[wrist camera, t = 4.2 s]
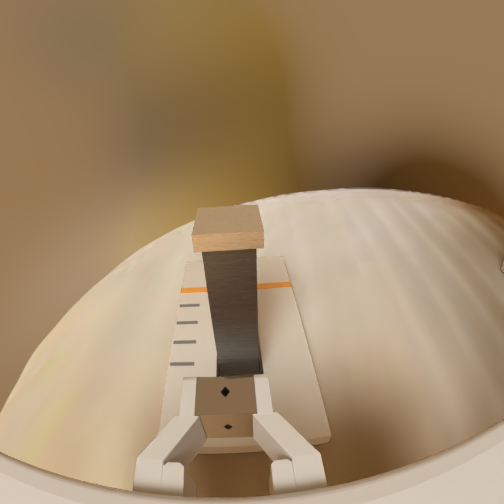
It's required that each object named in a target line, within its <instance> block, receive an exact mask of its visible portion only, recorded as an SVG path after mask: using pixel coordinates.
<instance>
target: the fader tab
mask: <svg viewBox="0 0 504 504" xmlns="http://www.w3.org/2000/svg"><path fill="white" fill-rule="evenodd" d="M192 242H193V249H194V252H202V256H203V264H204V271H205V279H206V286H207V293H208V300H209V306H210V313H211V320H212V326H213V332H214V339H215V345H216V351H217V357H218V362H219V368H220V374H221V377H225V376H238V375H252V374H253V375H257V374H259V347H258V300H257V256H256V249H260V248H264V230H263V225H262V221H261V217H260V213H259V208H258V205H241V206H224V207H209V208H198V211H197V215H196V219H195V223H194V227H193V232H192Z"/></svg>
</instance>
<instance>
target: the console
mask: <svg viewBox="0 0 504 504" xmlns="http://www.w3.org/2000/svg"><path fill="white" fill-rule="evenodd" d="M257 300H258V339H259V347H260V356H261V364H262V373H263V374H268V376H269V381H270V389H271V396H272V403H273V410H274V412H279V414H280V415H281V416H282V417H283V418H284V419H285V420H286V421H287V422H288V423H289V424H290V425H291V426H292V427H293V428H294V429H295V430H296V431H297V432H299V433H300V434H301V435H302V436H303V437H304V438H305V439H306V440H307V441H308V442H309V443H310V444H311V445H318V444H324V443H328V442H329V440H330V438H331V436H332V435H331V431H330V427H329V423H328V419H327V415H326V411H325V408H324V404H323V400H322V396H321V392H320V388H319V384H318V381H317V377H316V373H315V369H314V366H313V362H312V358H311V354H310V351H309V347H308V343H307V340H306V336H305V333H304V329H303V325H302V322H301V318H300V315H299V311H298V308H297V304H296V301H295V297H294V294H293V290H292V286H291V282H290V280H289V276H288V273H287V270H286V266H285V263H284V259H283V256H279V257H262V258H257ZM183 377H218V357H217V351H216V345H215V339H214V332H213V326H212V320H211V313H210V306H209V300H208V293H207V286H206V279H205V271H204V264H203V261H194V262H187V264H186V269H185V274H184V279H183V284H182V288H181V294H180V299H179V305H178V310H177V316H176V321H175V327H174V333H173V338H172V344H171V351H170V357H169V363H168V370H167V376H166V383H165V390H164V397H163V405H162V413H161V421H160V429H159V433H160V432H161V431H162V429H163V428H164V427H165V426H166V425H167V424H168V423H169V421H170V420H171V419H172V418H173V417H174V416H175V415H179V407H180V396H181V386H182V380H183ZM262 451H264V450H263V449H262V448H261V446H260V445H259V444H258V443H257V441H256V440H255V439H254V437H228V438H207V441H206V442H205V444H204V445H203V447H202V448H201V450H200V451H199V453H198V454H222V453H247V452H262Z"/></svg>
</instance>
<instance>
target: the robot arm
mask: <svg viewBox="0 0 504 504" xmlns="http://www.w3.org/2000/svg"><path fill="white" fill-rule="evenodd" d="M501 270H502V272H504V259H503V263H502V266H501ZM228 437H254V439H255V440H256V441H257V443H258V444H259V445H260V446H261V448H262V449H263V450H264V451H265V453H266V454H267V455H268V456H269V457H270V459H271V460H272V461H273V463H272V464H271V469H270V477H269V491H270V495H267V496H253V497H230V498H205V497H197V485H196V483H195V482H194V481H193V479H192V478H191V476H190V475H189V473H188V472H187V469H188V467H189V466H190V464H191V463H192V461H193V460H194V458H195V457H196V456H197V454H198V453H199V451H200V450H201V448H202V447H203V445H204V444H205V442H206V441H207V438H228ZM0 504H504V419H503V420H501V421H500V422H498V423H496V424H495V425H493V426H491V427H489V428H488V429H486V430H484V431H482V432H480V433H478V434H477V435H475V436H473V437H471V438H469V439H467V440H465V441H463V442H461V443H459V444H457V445H455V446H452V447H450V448H448V449H446V450H444V451H441V452H439V453H437V454H434V455H432V456H429V457H427V458H424V459H422V460H419V461H417V462H414V463H411V464H409V465H406V466H403V467H400V468H397V469H394V470H391V471H388V472H385V473H381V474H378V475H375V476H371V477H367V478H364V479H360V480H356V481H352V482H348V483H343V484H339V485H334V486H329V487H328V486H327V481H326V476H325V472H324V467H323V462H322V458H321V453H319V452H318V451H317V450H316V449H315V448H314V447H313V446H312V445H311V444H310V443H309V442H308V441H307V440H306V439H305V438H304V437H303V436H302V435H301V434H300V433H299V432H297V431H296V430H295V429H294V428H293V427H292V426H291V425H290V424H289V423H288V422H287V421H286V420H285V419H284V418H283V417H282V416H281V415H280V414H279V412H274V410H273V403H272V396H271V389H270V381H269V376H268V374H257V375H253V374H252V375H238V376H225V377H183V380H182V386H181V396H180V407H179V415H175V416H174V417H173V418H172V419H171V420H170V421H169V423H168V424H167V425H166V426H165V427H164V428H163V429H162V431H161V432H160V433H159V434H158V435H157V436H156V437H155V438H154V440H153V441H152V442H151V443H150V444H149V445H148V446H147V447H146V449H145V450H144V451H143V452H142V453H141V454H140V455H139V456H138V457H137V461H136V468H135V476H134V484H133V491H128V490H122V489H117V488H112V487H107V486H102V485H97V484H93V483H89V482H85V481H81V480H77V479H73V478H70V477H66V476H63V475H60V474H56V473H53V472H50V471H47V470H44V469H41V468H38V467H36V466H33V465H30V464H28V463H25V462H22V461H20V460H17V459H15V458H13V457H10V456H8V455H6V454H3V453H1V452H0Z"/></svg>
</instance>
